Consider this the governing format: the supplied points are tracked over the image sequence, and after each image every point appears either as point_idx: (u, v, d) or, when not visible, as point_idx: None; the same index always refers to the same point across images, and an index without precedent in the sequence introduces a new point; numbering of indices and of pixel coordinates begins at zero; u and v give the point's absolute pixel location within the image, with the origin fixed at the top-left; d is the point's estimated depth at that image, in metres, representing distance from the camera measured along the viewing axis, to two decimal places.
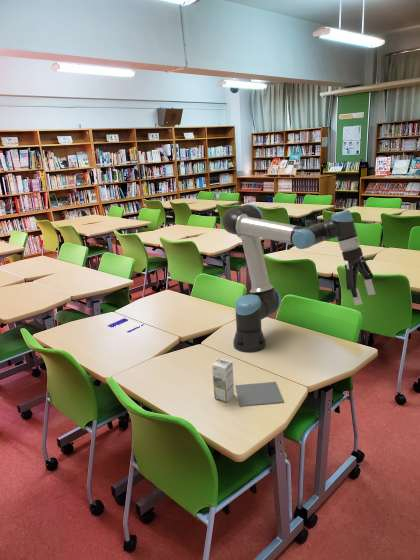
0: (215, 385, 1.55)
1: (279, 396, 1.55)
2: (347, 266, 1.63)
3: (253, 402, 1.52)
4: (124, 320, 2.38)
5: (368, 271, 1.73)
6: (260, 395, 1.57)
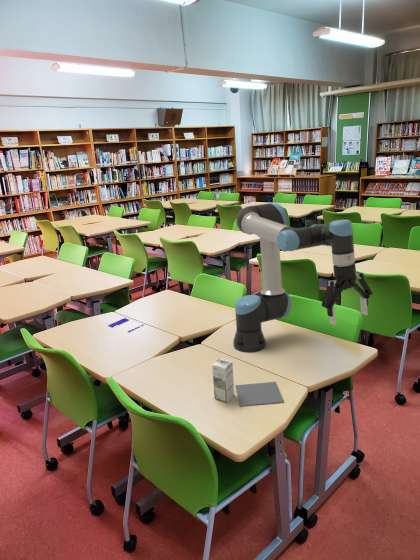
0: (215, 385, 1.55)
1: (279, 396, 1.55)
2: (329, 283, 1.49)
3: (253, 402, 1.52)
4: (124, 320, 2.38)
5: (366, 289, 1.54)
6: (260, 395, 1.57)
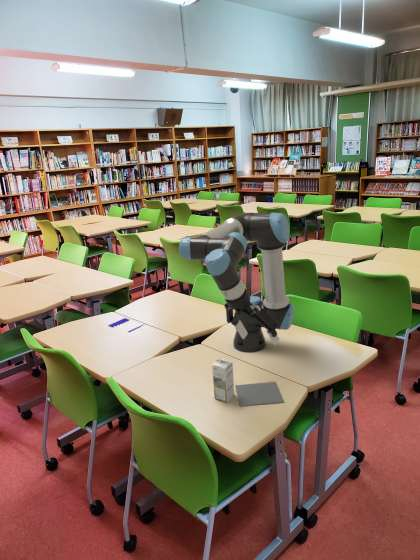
0: (215, 385, 1.55)
1: (279, 396, 1.55)
2: None
3: (253, 402, 1.52)
4: (125, 320, 2.38)
5: (267, 323, 1.32)
6: (260, 395, 1.57)
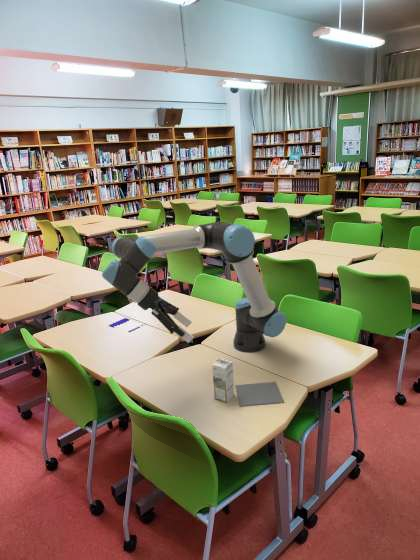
0: (215, 385, 1.55)
1: (279, 396, 1.55)
2: None
3: (253, 402, 1.52)
4: (125, 320, 2.38)
5: None
6: (260, 395, 1.57)
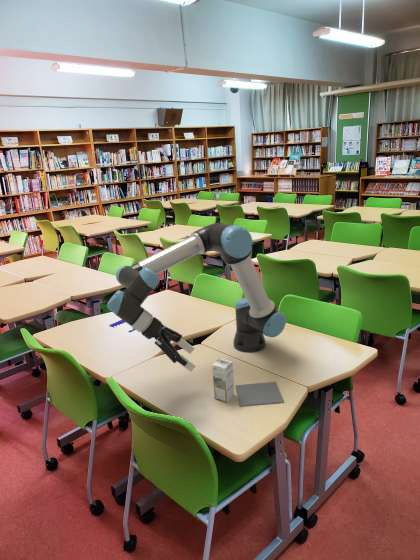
0: (215, 385, 1.55)
1: (279, 396, 1.55)
2: None
3: (253, 402, 1.52)
4: None
5: None
6: (260, 395, 1.57)
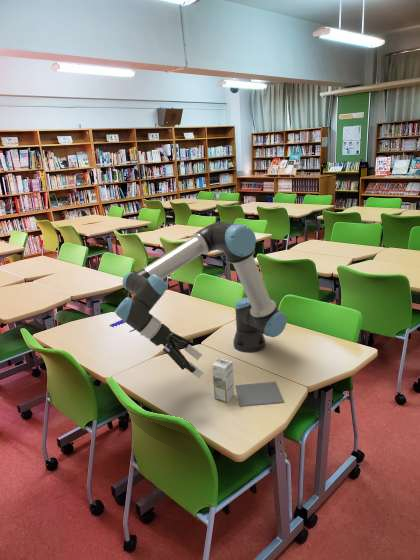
0: (215, 385, 1.55)
1: (279, 396, 1.55)
2: None
3: (253, 402, 1.52)
4: None
5: None
6: (260, 395, 1.57)
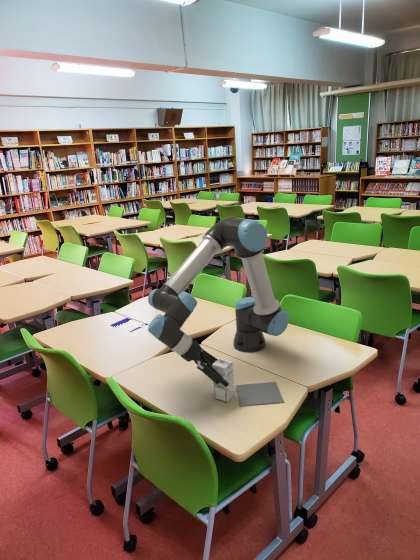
0: (215, 385, 1.55)
1: (279, 396, 1.55)
2: None
3: (253, 402, 1.52)
4: (127, 320, 2.39)
5: None
6: (260, 395, 1.57)
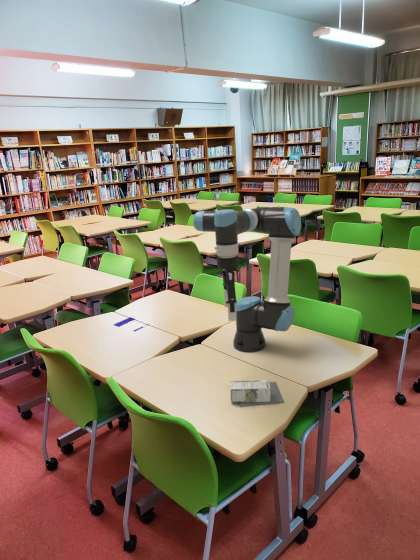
0: (247, 391, 1.51)
1: (279, 396, 1.55)
2: None
3: (253, 402, 1.52)
4: (130, 319, 2.39)
5: None
6: None
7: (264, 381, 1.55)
